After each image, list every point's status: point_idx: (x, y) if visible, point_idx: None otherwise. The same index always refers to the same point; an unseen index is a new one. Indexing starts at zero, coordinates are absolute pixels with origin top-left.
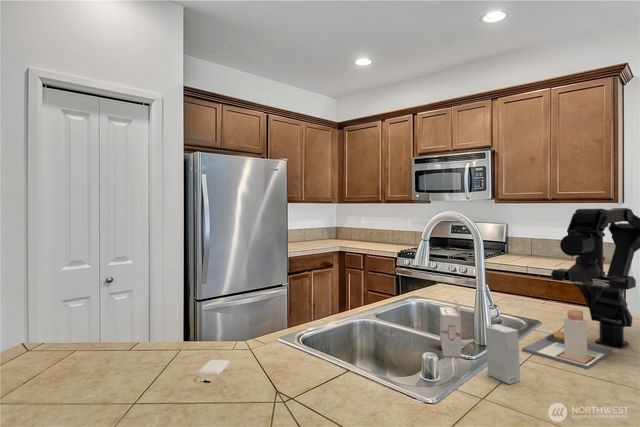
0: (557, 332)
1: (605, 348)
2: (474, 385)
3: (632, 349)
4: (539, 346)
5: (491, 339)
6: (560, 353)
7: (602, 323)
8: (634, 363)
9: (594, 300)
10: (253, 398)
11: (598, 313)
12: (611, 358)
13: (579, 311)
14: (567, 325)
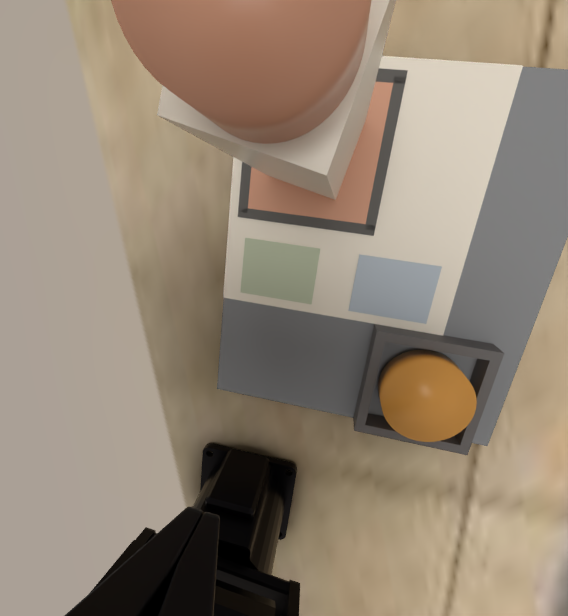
0: (454, 417)
1: (239, 384)
2: None
3: (179, 457)
4: (519, 198)
5: None
6: (390, 142)
7: (242, 547)
8: (136, 298)
9: (70, 612)
10: None
11: (235, 602)
12: (207, 301)
13: (177, 36)
14: None
